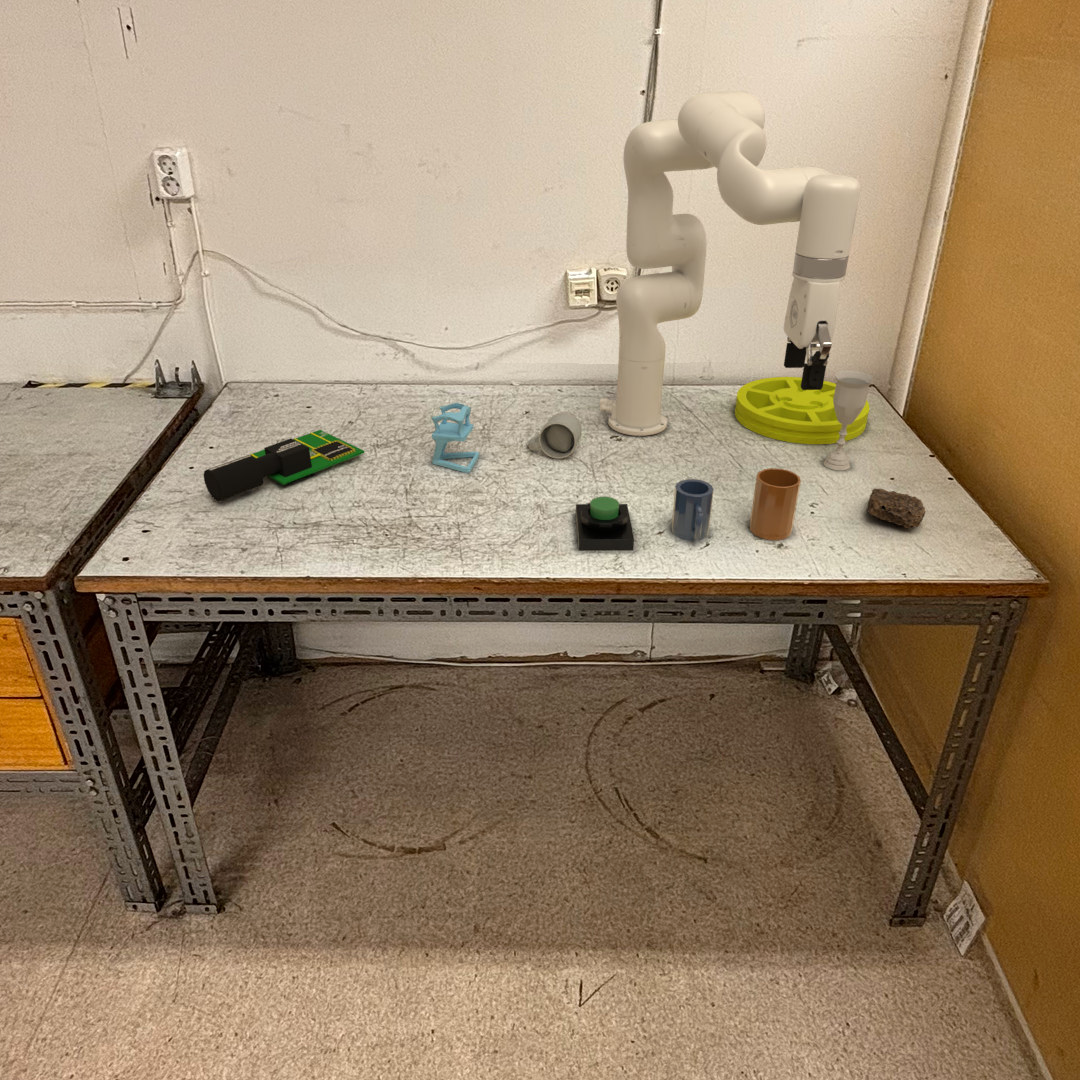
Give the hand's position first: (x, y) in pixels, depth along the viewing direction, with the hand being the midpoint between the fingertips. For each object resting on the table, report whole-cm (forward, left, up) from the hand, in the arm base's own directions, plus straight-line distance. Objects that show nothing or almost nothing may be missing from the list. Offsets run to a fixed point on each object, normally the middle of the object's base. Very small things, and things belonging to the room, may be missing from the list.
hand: (802, 377), depth 135 cm
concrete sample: (+17, +12, -27) cm, 34 cm away
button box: (-26, -16, -27) cm, 41 cm away
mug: (-12, -10, -27) cm, 31 cm away
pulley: (-8, +49, -27) cm, 56 cm away
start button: (-26, -16, -23) cm, 38 cm away
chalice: (+4, +29, -27) cm, 40 cm away
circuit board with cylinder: (-91, -24, -27) cm, 98 cm away
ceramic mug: (-48, +9, -27) cm, 55 cm away
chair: (-63, -5, -27) cm, 68 cm away
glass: (-1, -2, -27) cm, 27 cm away
